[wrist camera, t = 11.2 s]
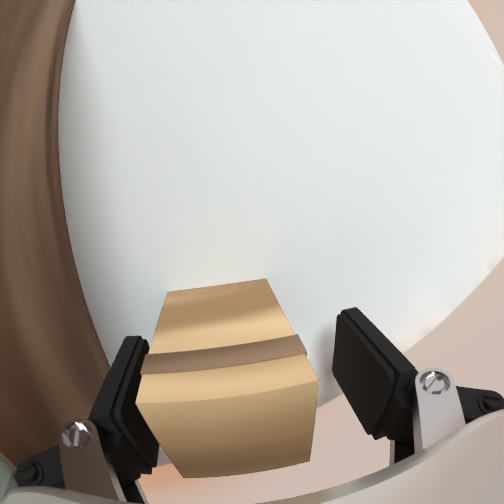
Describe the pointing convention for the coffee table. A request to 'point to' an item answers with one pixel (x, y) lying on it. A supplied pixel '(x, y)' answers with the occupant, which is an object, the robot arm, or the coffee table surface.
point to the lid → (4, 476)
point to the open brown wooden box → (38, 245)
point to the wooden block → (228, 382)
